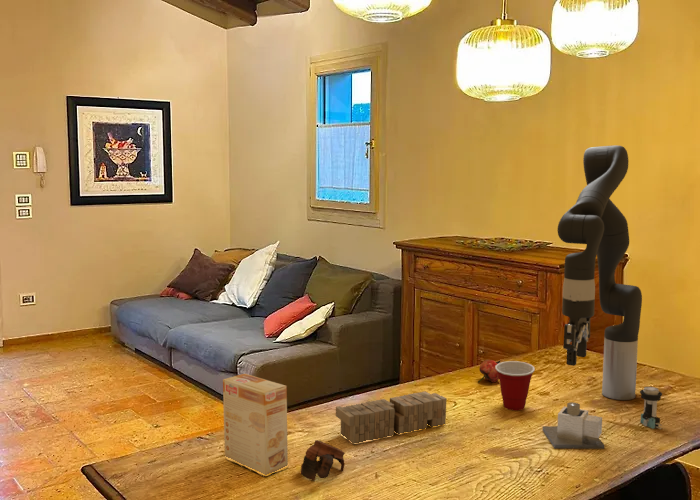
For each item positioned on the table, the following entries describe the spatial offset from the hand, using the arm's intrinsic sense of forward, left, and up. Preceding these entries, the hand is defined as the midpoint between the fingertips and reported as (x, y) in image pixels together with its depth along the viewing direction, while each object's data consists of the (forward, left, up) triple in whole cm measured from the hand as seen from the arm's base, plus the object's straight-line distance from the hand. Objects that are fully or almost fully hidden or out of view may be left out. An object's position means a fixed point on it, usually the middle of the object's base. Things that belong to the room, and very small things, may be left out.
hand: (576, 360), depth 178 cm
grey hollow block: (+1, +1, -19) cm, 19 cm away
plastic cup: (-23, -10, -20) cm, 32 cm away
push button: (-9, +23, -20) cm, 32 cm away
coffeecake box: (+16, -77, -20) cm, 82 cm away
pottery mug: (+22, -62, -20) cm, 68 cm away
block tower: (-5, -45, -21) cm, 50 cm away
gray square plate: (0, 0, -20) cm, 20 cm away
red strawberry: (-47, -13, -20) cm, 53 cm away
